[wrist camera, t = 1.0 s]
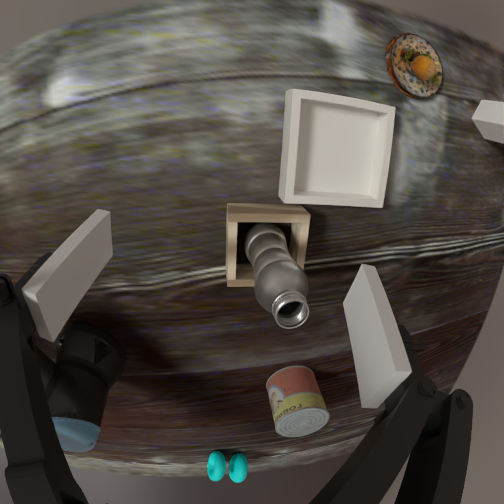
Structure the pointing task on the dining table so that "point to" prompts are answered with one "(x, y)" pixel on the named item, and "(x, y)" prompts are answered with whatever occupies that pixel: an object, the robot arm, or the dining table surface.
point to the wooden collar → (263, 213)
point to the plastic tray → (335, 150)
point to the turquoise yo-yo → (236, 466)
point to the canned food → (296, 402)
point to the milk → (490, 120)
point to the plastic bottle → (277, 275)
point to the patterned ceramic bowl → (414, 66)
